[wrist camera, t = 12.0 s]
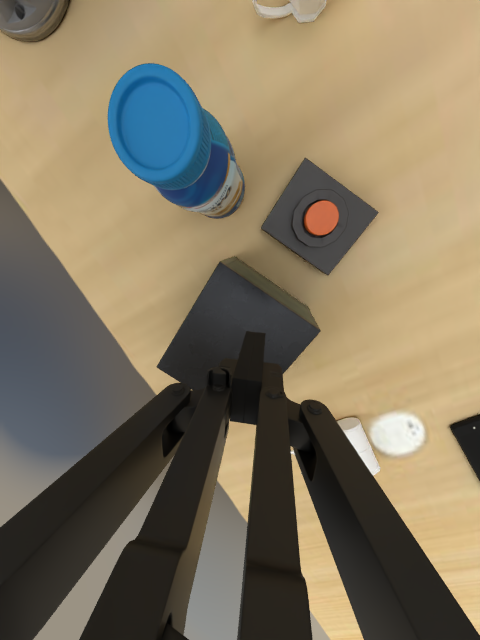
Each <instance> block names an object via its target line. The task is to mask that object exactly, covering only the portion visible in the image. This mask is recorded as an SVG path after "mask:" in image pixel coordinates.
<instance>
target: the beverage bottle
mask: <svg viewBox="0 0 480 640" xmlns="http://www.w3.org/2000/svg"><path fill="white" fill-rule="evenodd" d="M108 128H109V134H110V138H111V141H112V144H113V147H114V149H115V151H116V153H117V155H118V156H119V158H120V160H121V161H122V162H123V164H124V165H125V166H126V167H127V168H128V169H129V170H130V171H131V172H132V173H133V174H135V176H138V178H140V179H142V180H144V181H146V182H148V183H150V184H152V185H154V186H155V188H156V189H157V190H158V192H159V193H160V194H161V195H162V196H163V197H165V198H166V199H167V200H169V201H170V202H172V203H174V204H176V205H178V206H180V207H181V208H183V209H186V210H188V211H192V212H199V213H201V214H203V215H205V216H208V217H210V218H216V219H219V218H224V217H227V216H229V215H231V214H232V213H234V212H235V211H236V210H237V208H238V207H239V206H240V204H241V202H242V200H243V197H244V191H245V183H244V178H243V174H242V172H241V170H240V168H239V166H238V165H237V163H236V159H235V154H234V151H233V148H232V145H231V143H230V141H229V139H228V138H227V136H226V135H225V133H224V131H223V129H222V127H221V125H220V124H219V123H218V121H217V120H216V119H215V118H214V117H213V116H212V115H211V114H210V113H209V112H208V111H206V110H205V109H203V108H202V107H201V105H200V103H199V101H198V99H197V97H196V95H195V94H194V92H193V91H192V89H191V87H189V85H188V84H187V83H186V82H185V80H183V79H182V77H180V76H179V75H178V74H177V73H176V72H174V71H173V70H171V69H170V68H168V67H165V66H163V65H159V64H153V63H148V64H142V65H138V66H136V67H134V68H132V69H130V70H129V71H128V72H126V73H125V74H124V75H123V76H122V77H121V79H120V80H119V81H118V83H117V84H116V86H115V88H114V90H113V92H112V95H111V98H110V102H109V108H108Z"/></svg>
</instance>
